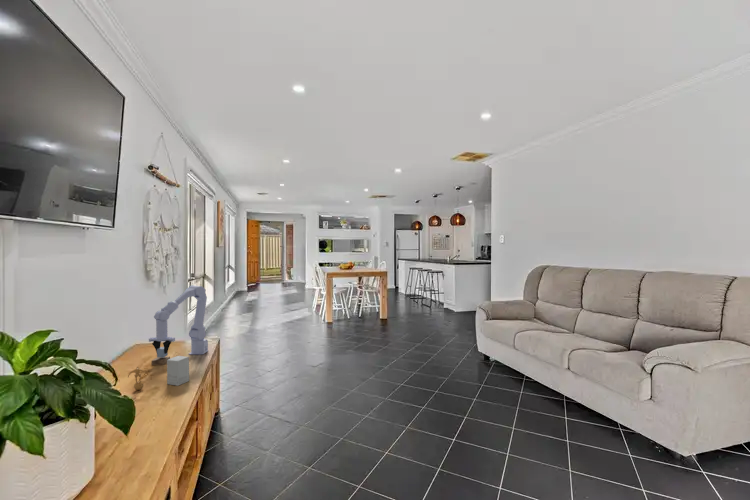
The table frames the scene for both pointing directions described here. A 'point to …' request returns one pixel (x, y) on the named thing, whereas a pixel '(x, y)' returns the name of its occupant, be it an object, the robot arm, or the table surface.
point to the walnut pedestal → (160, 360)
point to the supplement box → (177, 370)
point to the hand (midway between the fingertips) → (162, 353)
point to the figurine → (139, 384)
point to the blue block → (161, 352)
